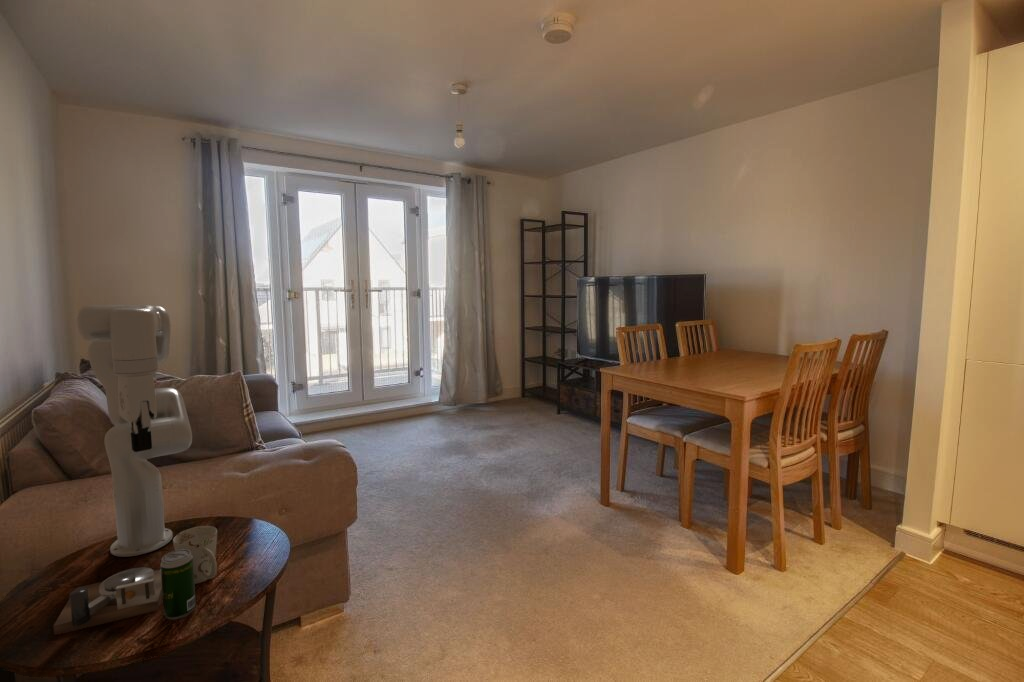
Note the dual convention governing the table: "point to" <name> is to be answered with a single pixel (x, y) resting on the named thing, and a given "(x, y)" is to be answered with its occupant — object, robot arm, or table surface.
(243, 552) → the table surface
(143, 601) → the levelling stand
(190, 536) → the mug
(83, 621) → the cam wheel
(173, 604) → the beer can
